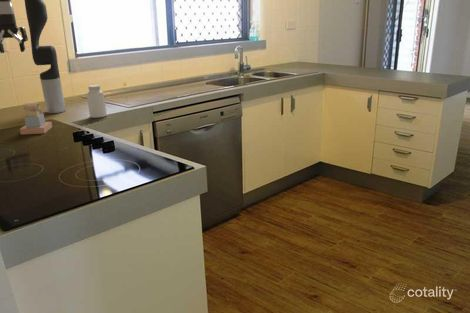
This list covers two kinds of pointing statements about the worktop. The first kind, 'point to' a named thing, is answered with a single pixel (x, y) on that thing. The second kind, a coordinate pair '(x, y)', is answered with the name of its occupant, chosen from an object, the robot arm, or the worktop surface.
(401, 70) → the worktop surface
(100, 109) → the pill bottle
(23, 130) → the tile base
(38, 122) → the blue block
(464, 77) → the worktop surface
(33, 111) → the oak block
